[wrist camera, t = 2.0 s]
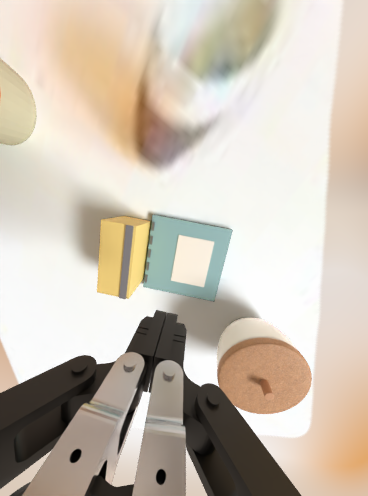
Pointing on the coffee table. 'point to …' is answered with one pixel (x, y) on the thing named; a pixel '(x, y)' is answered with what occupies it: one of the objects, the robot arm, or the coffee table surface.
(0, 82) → the reusable coffee cup
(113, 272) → the yellow box with stripe
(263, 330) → the lidded jar
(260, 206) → the coffee table surface
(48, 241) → the coffee table surface
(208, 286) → the spiral notebook
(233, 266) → the coffee table surface
